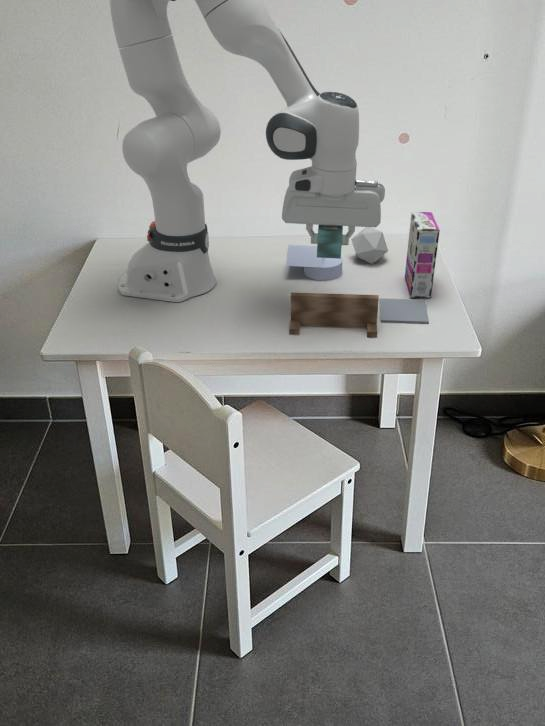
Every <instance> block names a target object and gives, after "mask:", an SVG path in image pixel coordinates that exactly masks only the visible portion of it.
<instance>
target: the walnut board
mask: <svg viewBox="0 0 545 726" xmlns="http://www.w3.org/2000/svg"><path fill="white" fill-rule="evenodd" d="M379 296H380V295H379V294H355V293H354V294H353V293H351V294H350V293H349V294H348V293H323V292H322V293H320V292H292V291H291V292H290V321H289V331H288V332H289V333H288V334H289V335H300V329H301V327H302V326H303V327H323V328H325V327H328V328H329V327H331V328H354V329H355V328H357V329H359V328H360V329H366V337H367V338H378V312H379V302H380V297H379Z"/></svg>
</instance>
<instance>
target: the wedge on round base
mask: <svg viewBox="0 0 545 726" xmlns="http://www.w3.org/2000/svg"><path fill="white" fill-rule="evenodd" d="M343 261H344V259H343V257H342V256H341V259H338V258H318V257H317V245H302V244H288V245H287V253H286V262H285V266H287V267H302V268H303V267H304V274H305V276H307V277H308V278H309V279H313V280H316V281H332V280H335V279H338V278H339V277H341V276H342V274H343Z"/></svg>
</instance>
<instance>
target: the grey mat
mask: <svg viewBox="0 0 545 726" xmlns="http://www.w3.org/2000/svg"><path fill="white" fill-rule="evenodd" d="M379 314H380V323H391V324H392V323H393V324H394V323H396V324H398V323H399V324H420V325H421V324H425V325H429V323H430V320H429V315H428V308H427V304H426V299H417V298H410V299H409V298H408V299H406V298H405V299H404V298H381V297H379Z"/></svg>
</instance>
